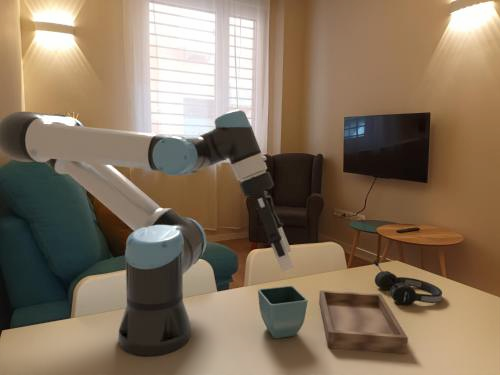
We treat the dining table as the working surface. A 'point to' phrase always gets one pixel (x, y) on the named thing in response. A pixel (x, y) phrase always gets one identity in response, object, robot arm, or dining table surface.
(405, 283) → the headset
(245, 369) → the dining table surface
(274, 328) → the flower pot
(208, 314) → the dining table surface
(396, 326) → the holder tray
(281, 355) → the dining table surface
